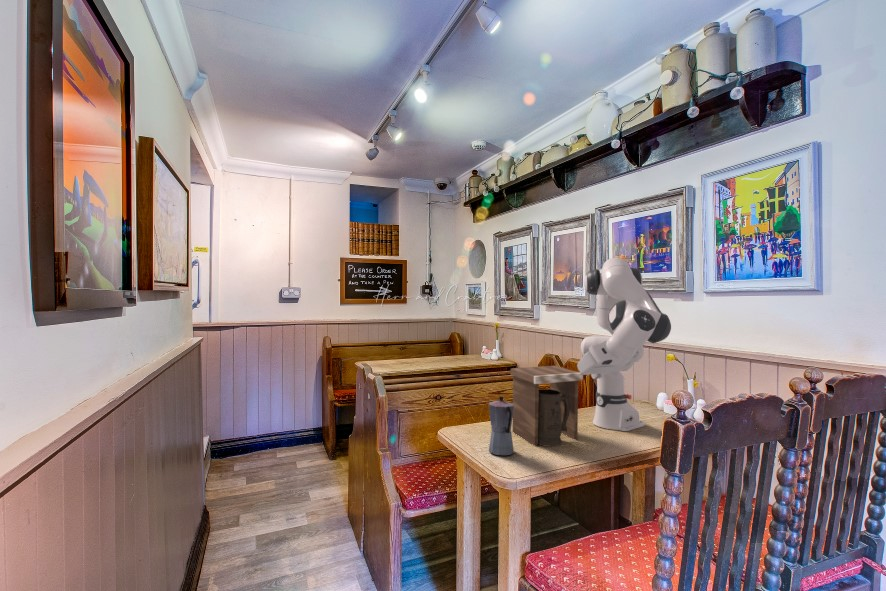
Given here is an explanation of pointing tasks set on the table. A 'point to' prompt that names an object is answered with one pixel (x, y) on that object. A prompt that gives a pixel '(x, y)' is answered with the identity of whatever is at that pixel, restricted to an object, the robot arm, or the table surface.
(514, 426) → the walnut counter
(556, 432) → the beer stein
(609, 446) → the table surface
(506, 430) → the moka pot
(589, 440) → the table surface
